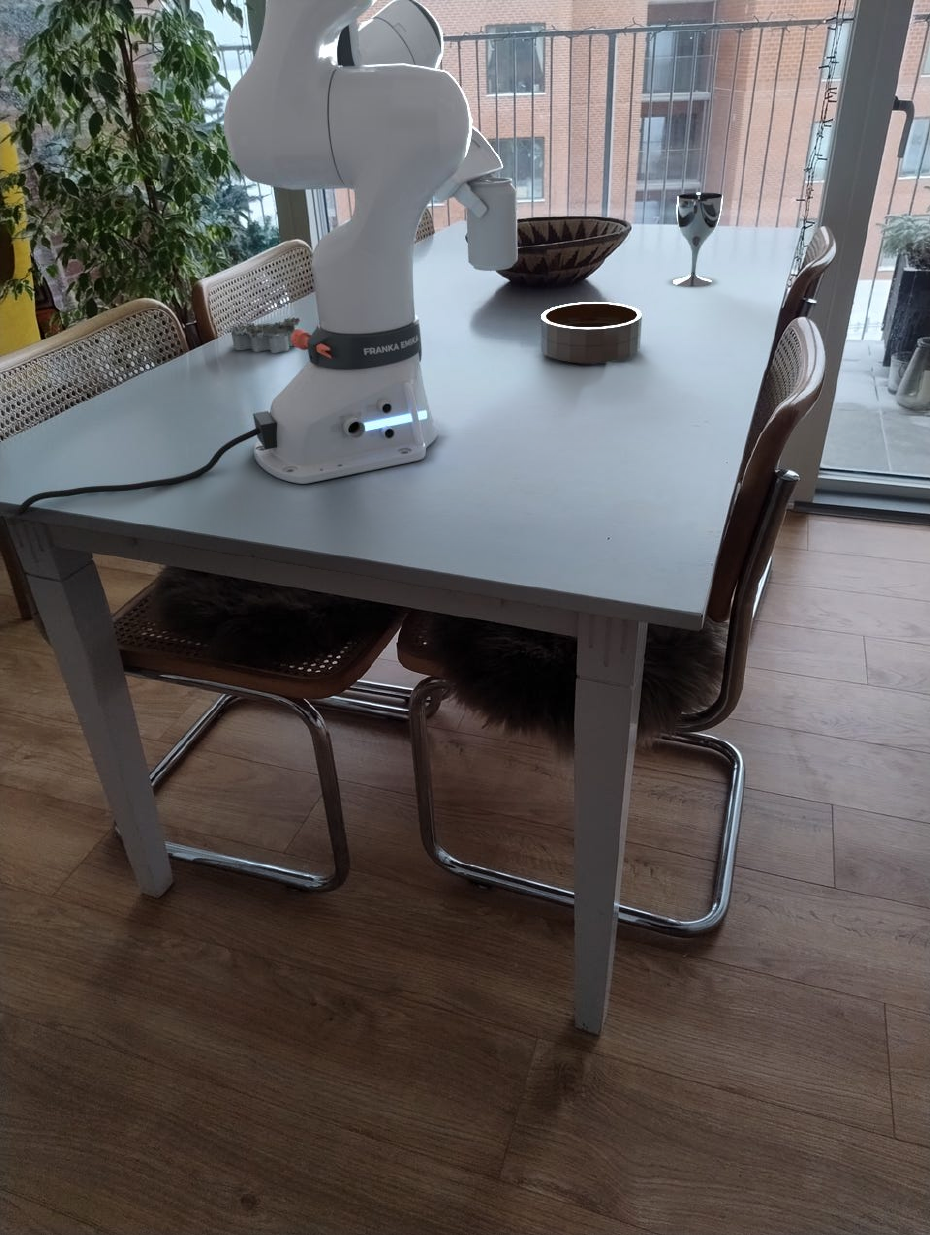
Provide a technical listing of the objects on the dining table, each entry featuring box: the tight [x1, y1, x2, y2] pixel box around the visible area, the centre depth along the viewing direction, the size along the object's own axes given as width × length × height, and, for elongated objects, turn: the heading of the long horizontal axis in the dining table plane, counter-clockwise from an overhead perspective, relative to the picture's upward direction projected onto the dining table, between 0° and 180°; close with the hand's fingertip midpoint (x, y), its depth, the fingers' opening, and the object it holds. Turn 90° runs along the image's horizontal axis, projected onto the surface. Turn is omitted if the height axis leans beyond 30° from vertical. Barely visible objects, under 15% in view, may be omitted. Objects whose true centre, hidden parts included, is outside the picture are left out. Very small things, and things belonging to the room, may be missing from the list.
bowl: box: [540, 301, 643, 365], centre depth 131 cm, size 15×15×6 cm
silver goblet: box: [673, 192, 724, 288], centre depth 162 cm, size 8×8×15 cm
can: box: [465, 176, 519, 272], centre depth 128 cm, size 8×8×12 cm
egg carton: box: [226, 317, 301, 354], centre depth 143 cm, size 11×8×4 cm
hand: (495, 208), depth 127 cm, fingers closed on can, 7 cm apart
